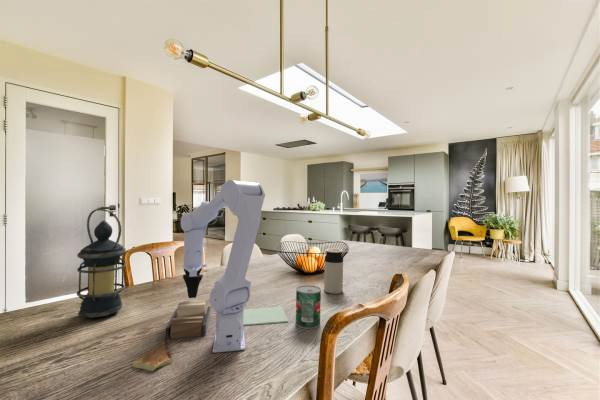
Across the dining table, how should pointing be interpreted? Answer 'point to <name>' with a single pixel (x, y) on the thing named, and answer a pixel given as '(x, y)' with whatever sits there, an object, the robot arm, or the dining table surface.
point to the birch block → (191, 309)
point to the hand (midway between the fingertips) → (192, 293)
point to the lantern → (101, 272)
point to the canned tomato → (308, 306)
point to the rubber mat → (264, 316)
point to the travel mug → (333, 271)
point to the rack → (168, 327)
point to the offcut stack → (186, 326)
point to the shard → (154, 358)
